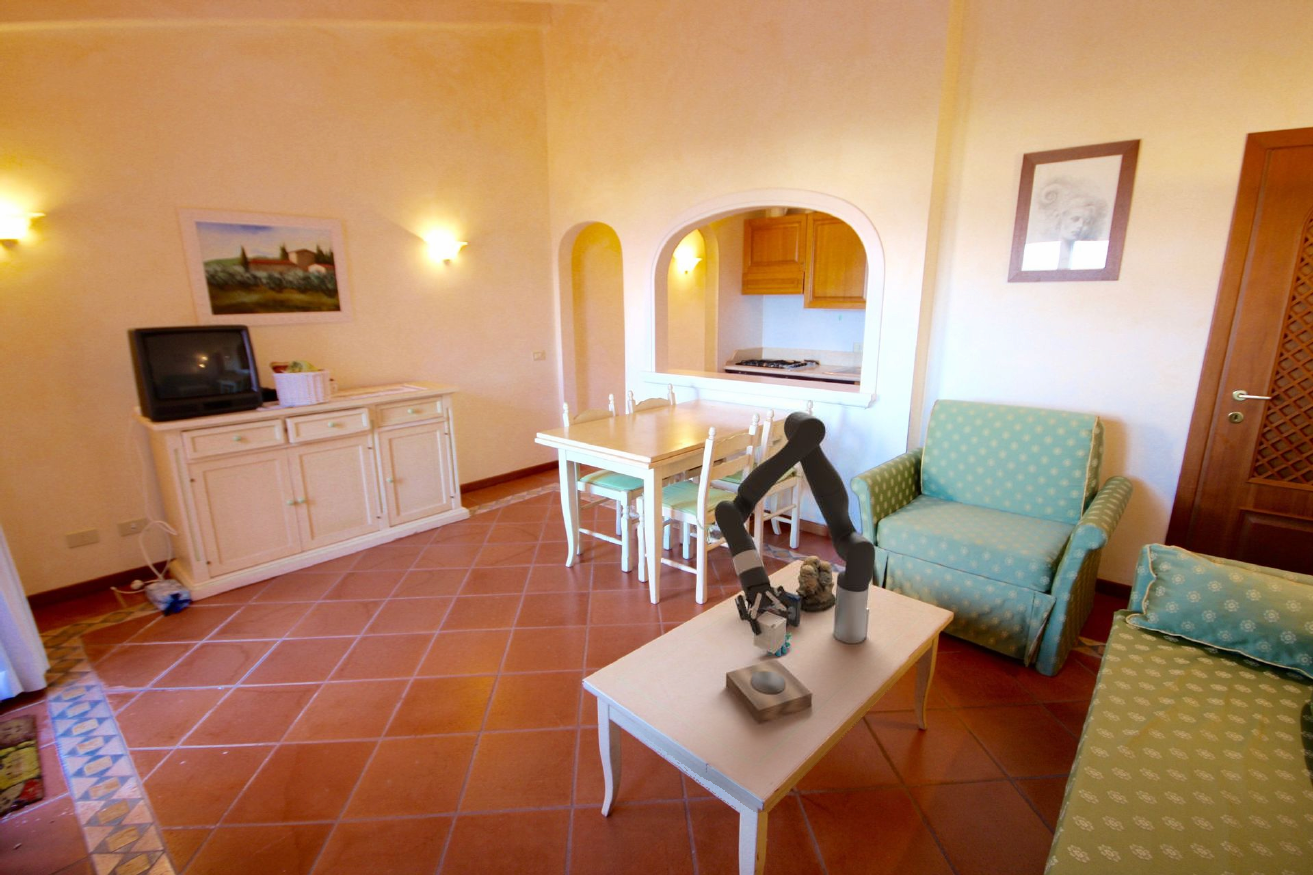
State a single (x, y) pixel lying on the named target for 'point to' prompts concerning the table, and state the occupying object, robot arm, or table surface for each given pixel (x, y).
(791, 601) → the vhs cassette tape
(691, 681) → the table surface
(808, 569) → the owl figurine
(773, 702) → the platform
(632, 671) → the table surface
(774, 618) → the skincare box
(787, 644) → the gear
